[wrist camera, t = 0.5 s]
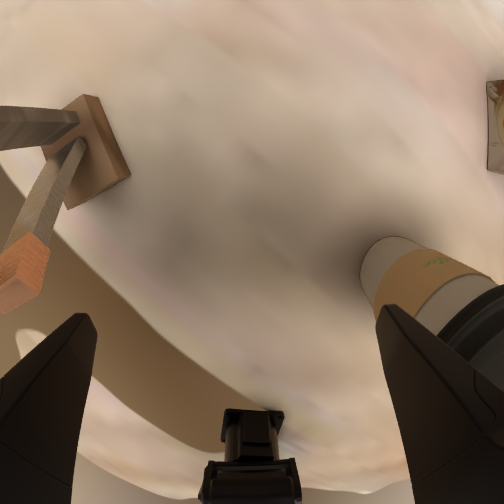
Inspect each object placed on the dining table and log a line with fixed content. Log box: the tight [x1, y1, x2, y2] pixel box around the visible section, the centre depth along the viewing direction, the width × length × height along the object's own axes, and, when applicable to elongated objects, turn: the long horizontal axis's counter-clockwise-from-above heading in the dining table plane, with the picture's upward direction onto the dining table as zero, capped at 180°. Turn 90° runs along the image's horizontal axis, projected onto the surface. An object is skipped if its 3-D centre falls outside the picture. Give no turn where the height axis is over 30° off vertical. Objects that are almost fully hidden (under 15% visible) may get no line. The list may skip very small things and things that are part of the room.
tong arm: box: [0, 136, 87, 314], centre depth 13 cm, size 1×3×12 cm, turn 113°
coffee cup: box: [360, 237, 504, 392], centre depth 17 cm, size 9×9×15 cm
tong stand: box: [0, 94, 131, 210], centre depth 13 cm, size 7×5×15 cm
